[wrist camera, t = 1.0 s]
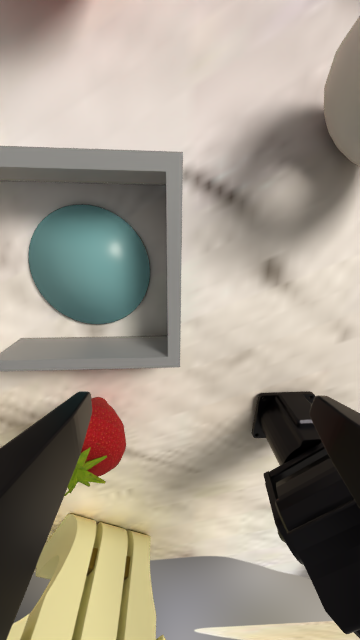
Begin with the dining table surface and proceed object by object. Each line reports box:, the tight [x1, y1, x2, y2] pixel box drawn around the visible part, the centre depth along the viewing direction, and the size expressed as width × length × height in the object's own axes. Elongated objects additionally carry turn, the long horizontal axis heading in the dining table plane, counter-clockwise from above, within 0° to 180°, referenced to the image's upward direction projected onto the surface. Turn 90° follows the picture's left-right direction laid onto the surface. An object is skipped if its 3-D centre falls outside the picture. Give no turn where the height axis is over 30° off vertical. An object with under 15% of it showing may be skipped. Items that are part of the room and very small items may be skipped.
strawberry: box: [64, 397, 126, 496], centre depth 20 cm, size 6×8×10 cm
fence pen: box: [0, 146, 183, 371], centre depth 17 cm, size 15×15×4 cm
